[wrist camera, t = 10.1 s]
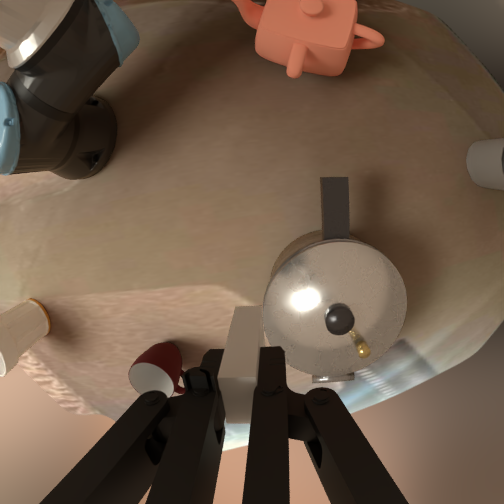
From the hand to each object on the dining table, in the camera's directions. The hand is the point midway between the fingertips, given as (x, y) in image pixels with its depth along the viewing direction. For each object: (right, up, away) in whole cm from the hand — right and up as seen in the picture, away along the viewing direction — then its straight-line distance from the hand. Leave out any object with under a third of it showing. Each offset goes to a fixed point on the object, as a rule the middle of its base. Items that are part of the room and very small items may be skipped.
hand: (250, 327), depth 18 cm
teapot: (+7, +37, +22) cm, 43 cm away
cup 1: (-48, -10, +39) cm, 63 cm away
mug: (-14, -15, +37) cm, 42 cm away
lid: (+11, -4, +21) cm, 24 cm away
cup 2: (+40, +20, +23) cm, 51 cm away
